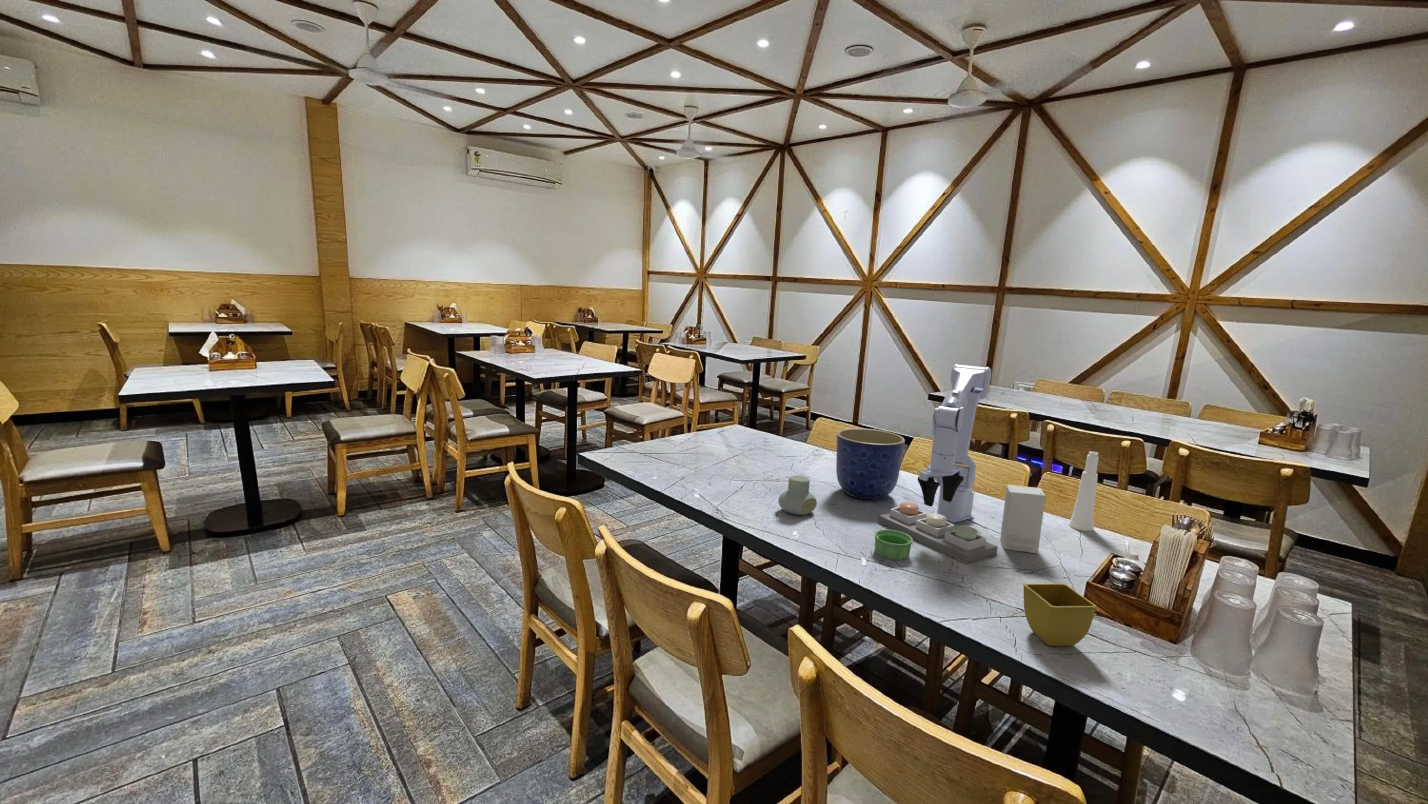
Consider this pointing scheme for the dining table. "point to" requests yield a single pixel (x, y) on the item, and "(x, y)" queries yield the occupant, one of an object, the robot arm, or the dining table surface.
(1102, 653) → the dining table surface
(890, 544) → the ramekin
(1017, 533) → the skincare box
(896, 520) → the button panel
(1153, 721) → the dining table surface
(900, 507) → the terracotta button
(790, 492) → the air freshener
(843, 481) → the planter
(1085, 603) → the flower pot
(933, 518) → the cream button
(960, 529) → the sage button
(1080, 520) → the cosmetic bottle
